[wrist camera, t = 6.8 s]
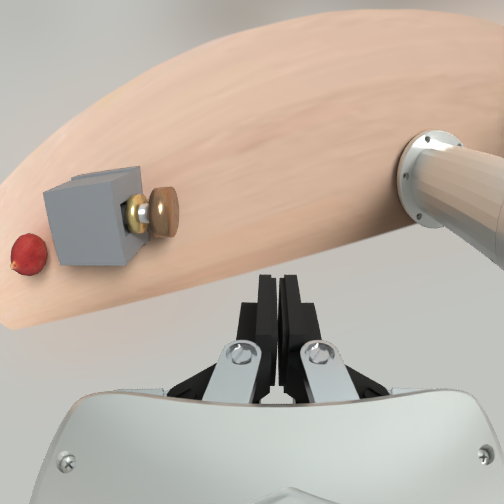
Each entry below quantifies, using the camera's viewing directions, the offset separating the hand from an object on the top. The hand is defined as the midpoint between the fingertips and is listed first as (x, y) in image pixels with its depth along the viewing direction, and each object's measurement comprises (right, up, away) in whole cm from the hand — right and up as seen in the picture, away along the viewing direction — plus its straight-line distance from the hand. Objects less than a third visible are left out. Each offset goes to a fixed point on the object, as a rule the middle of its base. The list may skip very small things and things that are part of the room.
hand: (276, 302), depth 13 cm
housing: (-18, +8, +18) cm, 26 cm away
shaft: (-15, +7, +16) cm, 24 cm away
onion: (-32, +4, +20) cm, 38 cm away
